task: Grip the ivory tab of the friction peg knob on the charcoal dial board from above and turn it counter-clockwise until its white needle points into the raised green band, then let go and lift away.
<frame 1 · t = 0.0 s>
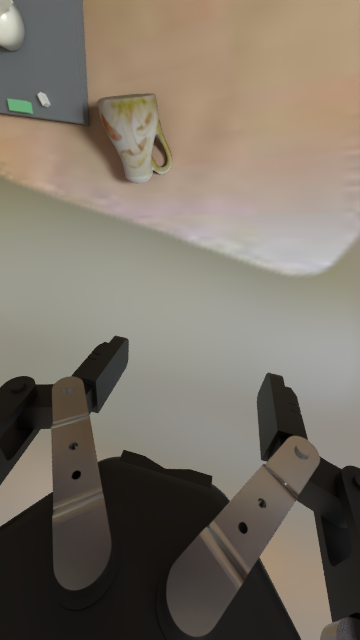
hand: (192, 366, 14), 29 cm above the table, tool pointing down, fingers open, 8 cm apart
dial board: (19, 32, 31), on the table
mug: (144, 142, 34), on the table
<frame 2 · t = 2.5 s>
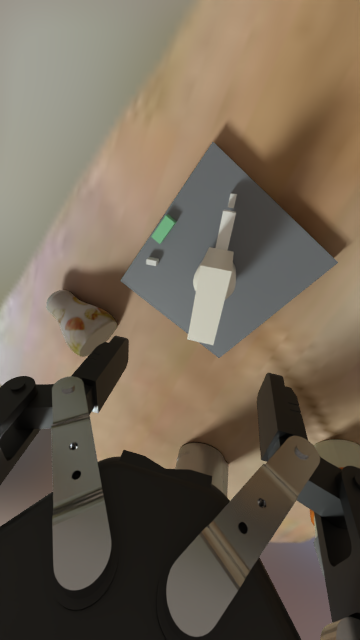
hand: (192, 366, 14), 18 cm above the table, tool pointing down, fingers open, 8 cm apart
dial board: (217, 268, 29), on the table
peg knob: (216, 272, 23), point 6 cm above the table, hinge at 0.0°
reusable coffee cup: (336, 455, 41), on the table
mug: (88, 311, 37), on the table
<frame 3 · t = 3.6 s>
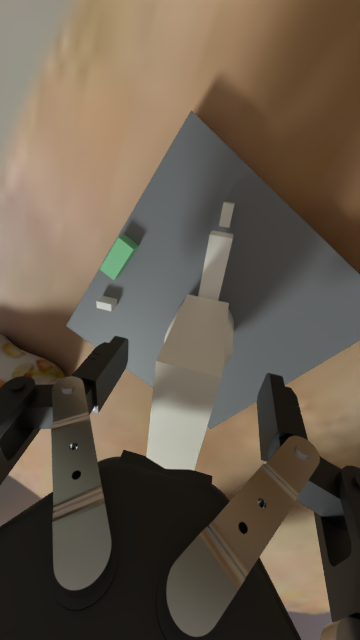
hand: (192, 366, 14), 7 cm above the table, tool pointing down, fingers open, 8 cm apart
dial board: (206, 312, 20), on the table
peg knob: (198, 339, 13), point 6 cm above the table, hinge at 0.0°
mug: (32, 358, 28), on the table
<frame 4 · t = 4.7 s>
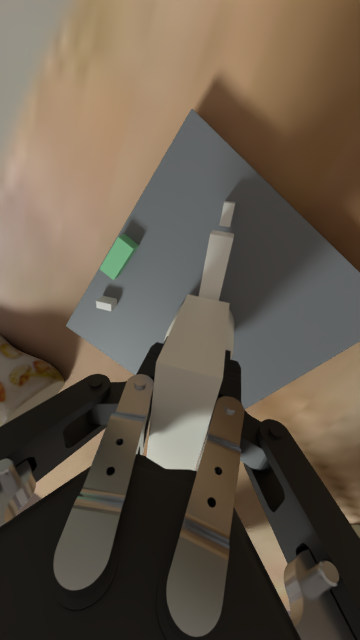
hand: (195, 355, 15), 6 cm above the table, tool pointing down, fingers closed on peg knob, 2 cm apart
dial board: (206, 312, 19), on the table
peg knob: (198, 340, 13), point 6 cm above the table, hinge at 0.0°, touching gripper
mug: (29, 358, 28), on the table
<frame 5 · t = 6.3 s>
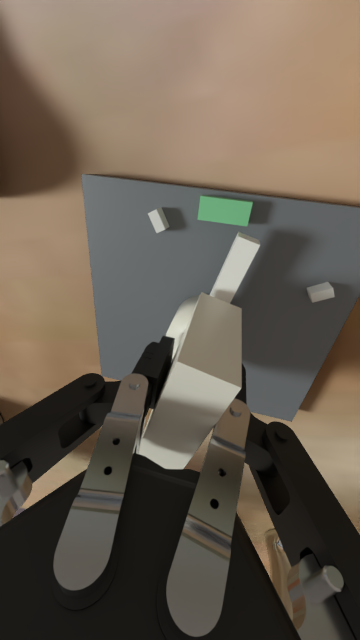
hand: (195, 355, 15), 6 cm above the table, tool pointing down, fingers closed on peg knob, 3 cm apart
dial board: (207, 310, 19), on the table
peg knob: (205, 340, 13), point 6 cm above the table, hinge at 46.9°, touching gripper
beer glass: (286, 537, 35), on the table
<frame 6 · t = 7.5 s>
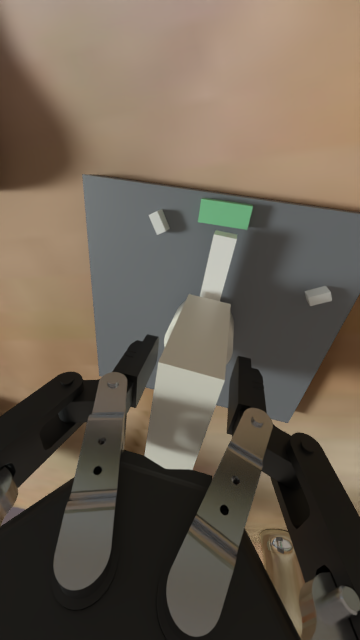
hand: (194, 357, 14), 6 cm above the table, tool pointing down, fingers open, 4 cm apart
dial board: (206, 312, 19), on the table
peg knob: (199, 340, 13), point 6 cm above the table, hinge at 57.4°
beer glass: (280, 537, 36), on the table
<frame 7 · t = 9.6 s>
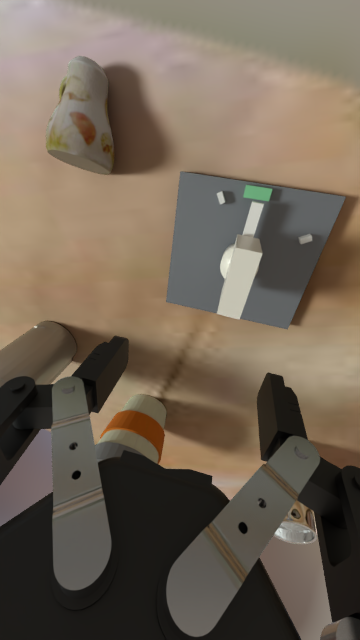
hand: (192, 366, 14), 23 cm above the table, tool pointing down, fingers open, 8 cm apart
dial board: (239, 255, 32), on the table
peg knob: (243, 256, 26), point 6 cm above the table, hinge at 58.1°
reusable coffee cup: (147, 408, 53), on the table
beer glass: (280, 440, 49), on the table
mug: (96, 124, 29), on the table
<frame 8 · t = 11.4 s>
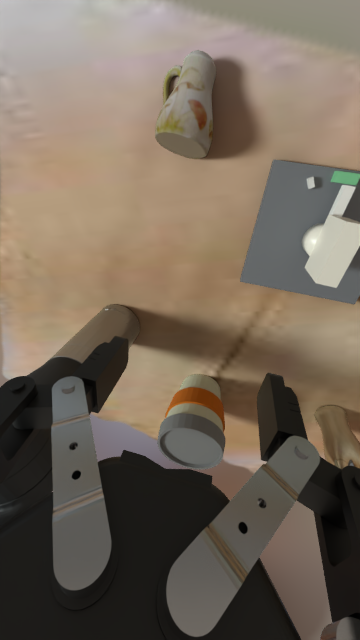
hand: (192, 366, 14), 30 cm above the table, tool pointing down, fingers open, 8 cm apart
dial board: (315, 236, 36), on the table
peg knob: (335, 233, 30), point 6 cm above the table, hinge at 58.1°
reusable coffee cup: (200, 388, 56), on the table
beer glass: (329, 414, 52), on the table
mug: (191, 112, 32), on the table
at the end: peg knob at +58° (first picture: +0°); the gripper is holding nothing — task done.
